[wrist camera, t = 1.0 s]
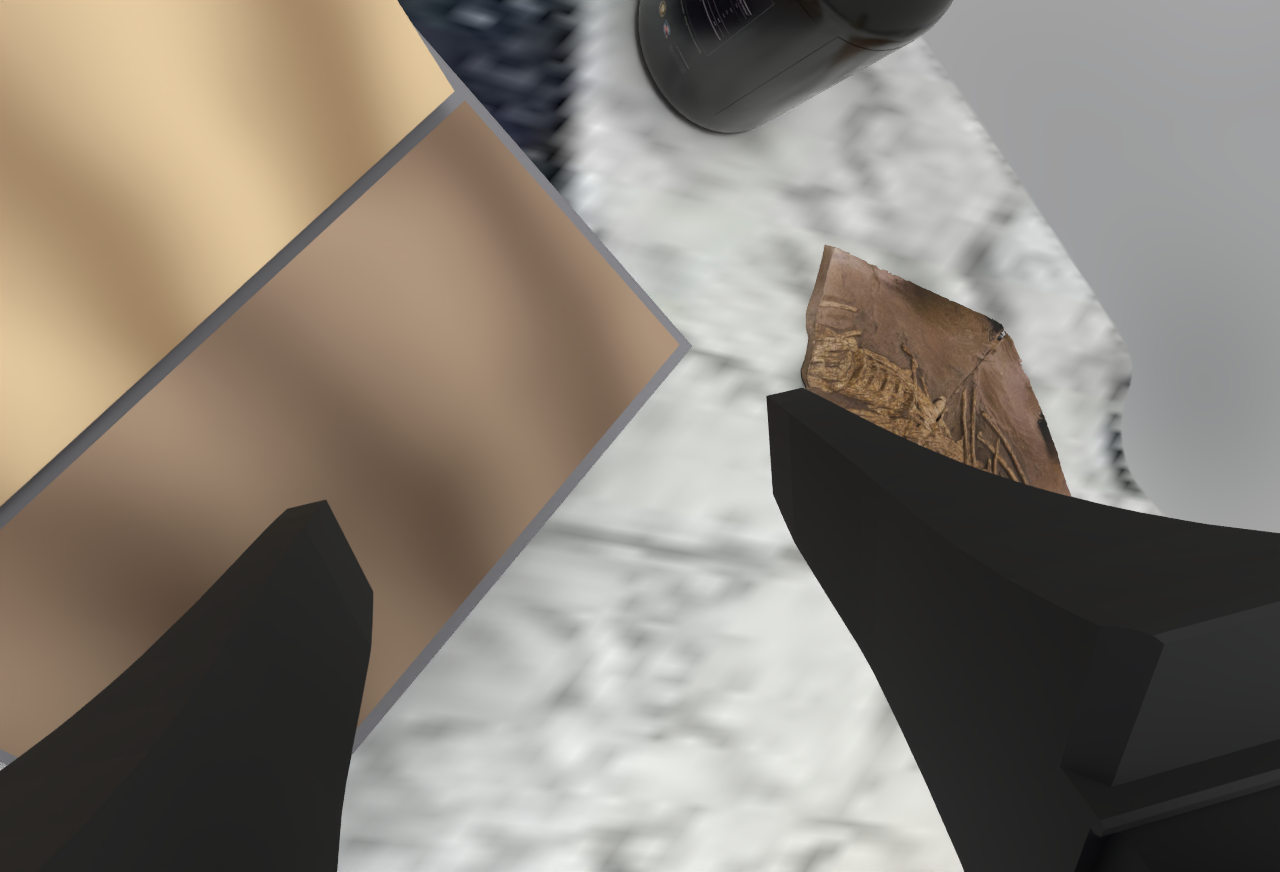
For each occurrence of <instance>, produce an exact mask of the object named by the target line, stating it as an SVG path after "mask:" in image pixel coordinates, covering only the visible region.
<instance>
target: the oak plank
mask: <svg viewBox="0 0 1280 872" xmlns="http://www.w3.org/2000/svg"><path fill="white" fill-rule="evenodd" d="M453 92H454V90H453V88H452V86H451V85H450V83H449V82H448V80H447V79H446V77H445V75H444V74H443V72H442V71H441V69H440V67H439V66H438V64H437V63H436V61H435V60H434V58H433V56H432V55H431V53H430V52H429V50H428V48H427V47H426V45H425V44H424V42H423V41H422V39H421V37H420V36H419V34H418V33H417V31H416V29H415V28H414V26H413V25H412V23H411V22H410V20H409V18H408V17H407V15H406V14H405V12H404V11H403V9H402V7H401V6H400V4H399V3H398V1H397V0H0V506H1V505H3V504H4V503H5V502H6V501H7V500H8V499H9V498H10V497H11V496H12V495H14V494H15V493H16V492H17V491H18V490H19V489H20V488H21V487H22V486H23V485H24V484H26V483H27V482H28V481H29V480H30V479H31V478H32V477H33V476H34V475H35V474H37V473H38V472H39V471H40V470H41V469H42V468H43V467H44V466H45V465H46V464H47V463H49V462H50V461H51V460H52V459H53V458H54V457H55V456H56V455H57V454H58V453H59V452H61V451H62V450H63V449H64V448H65V447H66V446H67V445H68V444H69V443H70V442H72V441H73V440H74V439H75V438H76V437H77V436H78V435H79V434H80V433H81V432H82V431H84V430H85V429H86V428H87V427H88V426H89V425H90V424H91V423H92V422H93V421H94V420H96V419H97V418H98V417H99V416H100V415H101V414H102V413H103V412H104V411H105V410H107V409H108V408H109V407H110V406H111V405H112V404H113V403H114V402H115V401H116V400H117V399H119V398H120V397H121V396H122V395H123V394H124V393H125V392H126V391H127V390H128V389H129V388H131V387H132V386H133V385H134V384H135V383H136V382H137V381H138V380H139V379H140V378H142V377H143V376H144V375H145V374H146V373H147V372H148V371H149V370H150V369H151V368H152V367H154V366H155V365H156V364H157V363H158V362H159V361H160V360H161V359H162V358H163V357H165V356H166V355H167V354H168V353H169V352H170V351H171V350H172V349H173V348H174V347H175V346H177V345H178V344H179V343H180V342H181V341H182V340H183V339H184V338H185V337H186V336H187V335H189V334H190V333H191V332H192V331H193V330H194V329H195V328H196V327H197V326H198V325H200V324H201V323H202V322H203V321H204V320H205V319H206V318H207V317H208V316H209V315H210V314H212V313H213V312H214V311H215V310H216V309H217V308H218V307H219V306H220V305H221V304H222V303H224V302H225V301H226V300H227V299H228V298H229V297H230V296H231V295H232V294H233V293H235V292H236V291H237V290H238V289H239V288H240V287H241V286H242V285H243V284H244V283H245V282H247V281H248V280H249V279H250V278H251V277H252V276H253V275H254V274H255V273H256V272H257V271H259V270H260V269H261V268H262V267H263V266H264V265H265V264H266V263H267V262H268V261H270V260H271V259H272V258H273V257H274V256H275V255H276V254H277V253H278V252H279V251H280V250H282V249H283V248H284V247H285V246H286V245H287V244H288V243H289V242H290V241H291V240H292V239H294V238H295V237H296V236H297V235H298V234H299V233H300V232H301V231H302V230H303V229H305V228H306V227H307V226H308V225H309V224H310V223H311V222H312V221H313V220H314V219H315V218H317V217H318V216H319V215H320V214H321V213H322V212H323V211H324V210H325V209H326V208H328V207H329V206H330V205H331V204H332V203H333V202H334V201H335V200H336V199H337V198H338V197H340V196H341V195H342V194H343V193H344V192H345V191H346V190H347V189H348V188H349V187H350V186H352V185H353V184H354V183H355V182H356V181H357V180H358V179H359V178H360V177H361V176H363V175H364V174H365V173H366V172H367V171H368V170H369V169H370V168H371V167H372V166H373V165H375V164H376V163H377V162H378V161H379V160H380V159H381V158H382V157H383V156H384V155H385V154H387V153H388V152H389V151H390V150H391V149H392V148H393V147H394V146H395V145H396V144H398V143H399V142H400V141H401V140H402V139H403V138H404V137H405V136H406V135H407V134H408V133H410V132H411V131H412V130H413V129H414V128H415V127H416V126H417V125H418V124H419V123H420V122H422V121H423V120H424V119H425V118H426V117H427V116H428V115H429V114H430V113H431V112H433V111H434V110H435V109H436V108H437V107H438V106H439V105H440V104H441V103H442V102H443V101H445V100H446V99H447V98H448V97H449V96H450V95H451V94H452V93H453Z"/></svg>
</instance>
